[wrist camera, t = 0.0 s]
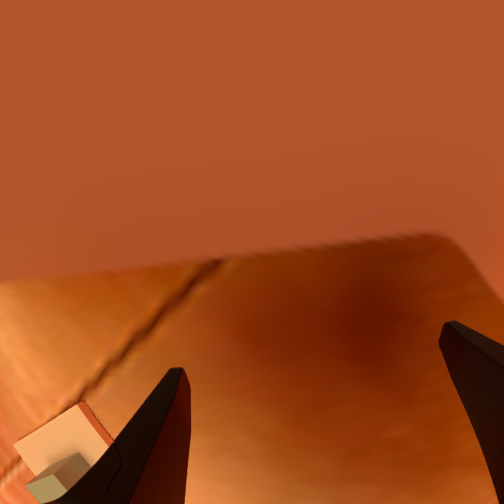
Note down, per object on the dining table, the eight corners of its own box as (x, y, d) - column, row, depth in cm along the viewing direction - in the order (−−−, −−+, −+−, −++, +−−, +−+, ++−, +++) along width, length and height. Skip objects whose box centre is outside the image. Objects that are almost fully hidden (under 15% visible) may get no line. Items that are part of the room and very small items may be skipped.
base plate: (175, 506, 22) (172, 513, 21) (94, 529, 21) (90, 534, 20) (82, 400, 23) (76, 404, 22) (18, 441, 23) (12, 444, 21)
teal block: (118, 496, 21) (99, 523, 16) (85, 507, 21) (65, 530, 16) (78, 452, 22) (53, 474, 17) (49, 466, 21) (24, 485, 16)
